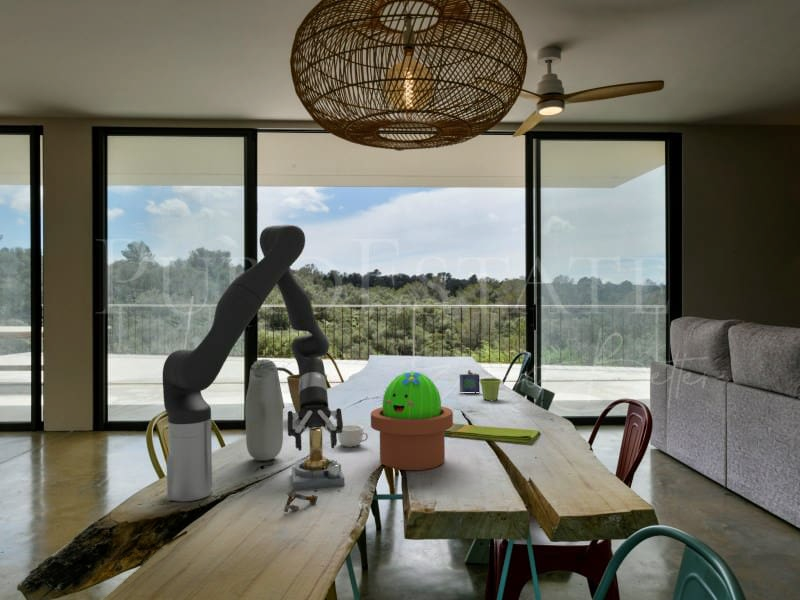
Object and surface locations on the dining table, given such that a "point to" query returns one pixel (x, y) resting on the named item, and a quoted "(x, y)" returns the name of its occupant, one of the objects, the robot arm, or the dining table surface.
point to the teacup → (351, 435)
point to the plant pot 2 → (490, 388)
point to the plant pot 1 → (295, 390)
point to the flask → (469, 382)
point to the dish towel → (492, 433)
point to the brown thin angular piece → (292, 494)
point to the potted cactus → (412, 423)
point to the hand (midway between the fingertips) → (316, 447)
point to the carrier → (317, 476)
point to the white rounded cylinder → (264, 412)
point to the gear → (316, 452)
